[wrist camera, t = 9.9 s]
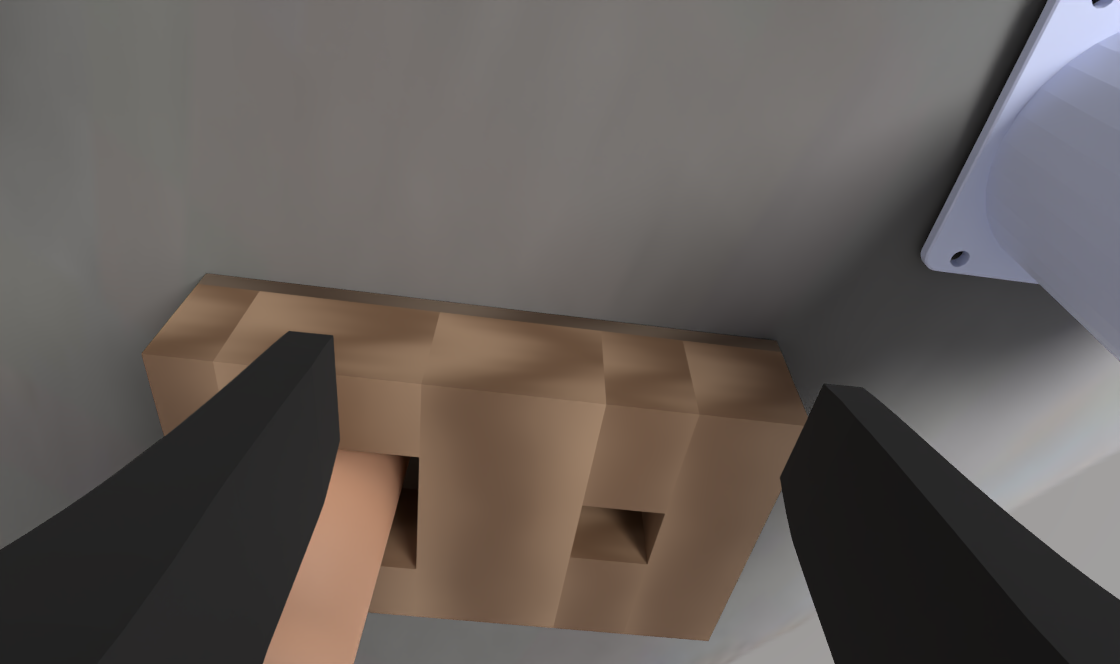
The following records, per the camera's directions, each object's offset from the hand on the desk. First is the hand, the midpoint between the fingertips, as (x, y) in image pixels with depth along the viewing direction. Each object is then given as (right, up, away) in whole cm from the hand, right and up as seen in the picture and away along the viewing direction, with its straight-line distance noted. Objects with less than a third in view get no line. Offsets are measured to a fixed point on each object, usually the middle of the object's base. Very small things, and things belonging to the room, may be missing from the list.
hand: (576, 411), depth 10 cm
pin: (-7, -2, +14) cm, 16 cm away
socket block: (-3, -2, +15) cm, 15 cm away
